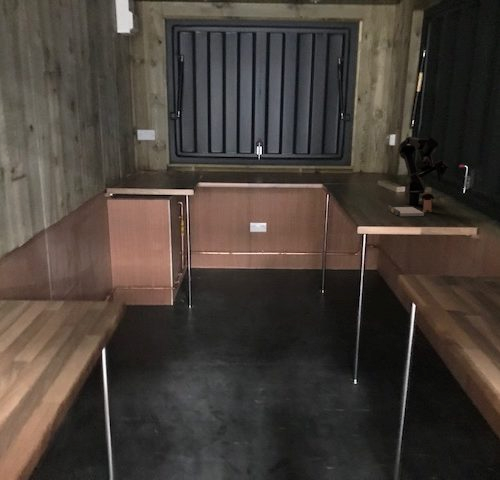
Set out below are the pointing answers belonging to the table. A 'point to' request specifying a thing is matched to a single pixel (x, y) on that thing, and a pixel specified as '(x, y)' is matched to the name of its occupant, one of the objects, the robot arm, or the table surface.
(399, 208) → the display board
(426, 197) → the grandmother figurine
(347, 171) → the table surface
